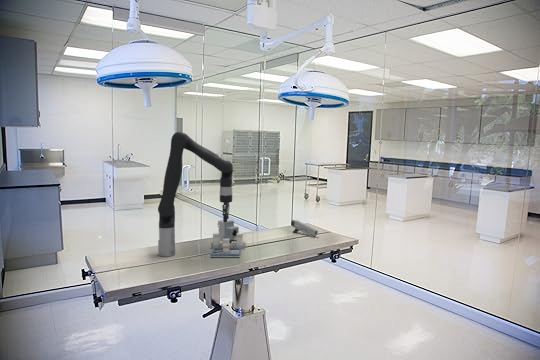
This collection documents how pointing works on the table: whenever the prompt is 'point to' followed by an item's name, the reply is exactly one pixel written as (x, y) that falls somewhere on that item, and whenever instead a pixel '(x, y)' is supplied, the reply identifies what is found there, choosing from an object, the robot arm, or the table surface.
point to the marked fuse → (226, 246)
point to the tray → (225, 254)
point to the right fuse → (239, 240)
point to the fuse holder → (229, 245)
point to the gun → (303, 228)
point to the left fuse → (216, 240)
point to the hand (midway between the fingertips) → (225, 220)
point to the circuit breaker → (227, 230)
